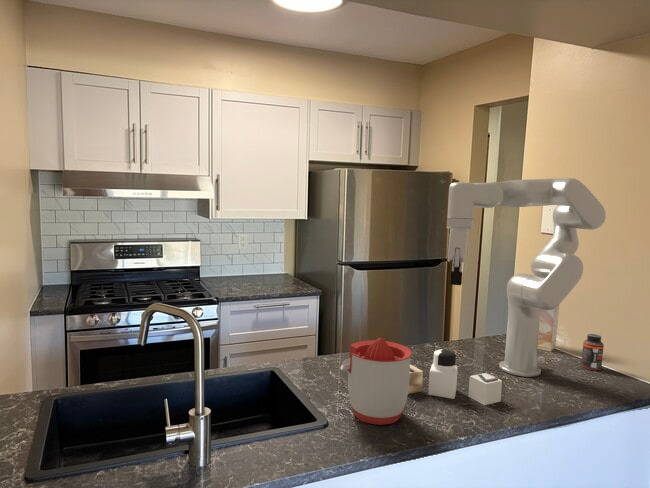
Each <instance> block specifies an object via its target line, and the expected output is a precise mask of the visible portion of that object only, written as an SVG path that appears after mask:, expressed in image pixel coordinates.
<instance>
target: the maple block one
mask: <svg viewBox="0 0 650 488" xmlns="http://www.w3.org/2000/svg"><path fill="white" fill-rule="evenodd" d="M423 374H424V370H421V369H419V368H418V367H417V366H415V365H413V364H410V373H409V389H408V395H409V394H415V393H419V392H423V376H424V375H423Z"/></svg>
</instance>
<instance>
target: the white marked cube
mask: <svg viewBox="0 0 650 488" xmlns="http://www.w3.org/2000/svg"><path fill="white" fill-rule="evenodd" d="M468 383H469V384H468V397H469V398H470V399H472V400H474V401H475V402H478V403H479V404H481V405H483V406H487V405H492V404H495V403H499V402H501V401H502V400H501V399H502V390H503V389H502V388H503V387H502V386H503V380H502V379H499V378H497V377H495V376H494V375H490V374H488V373H487V372H485V373H484V372H483V373H478V374H472V375H469V382H468Z"/></svg>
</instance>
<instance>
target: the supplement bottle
mask: <svg viewBox="0 0 650 488" xmlns="http://www.w3.org/2000/svg"><path fill="white" fill-rule="evenodd" d="M586 338H587V339H585V340H584V341H583V344H582V351H581V352H582V355H581V367H582V368H584V369H586V370H590V371H594V372H595V371H597V372H598V371H601V370H602V364H603V356H604V348H605V347H604V346H605V345H604V343H603V342H602V336H601V334H596V333H587V336H586Z"/></svg>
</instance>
